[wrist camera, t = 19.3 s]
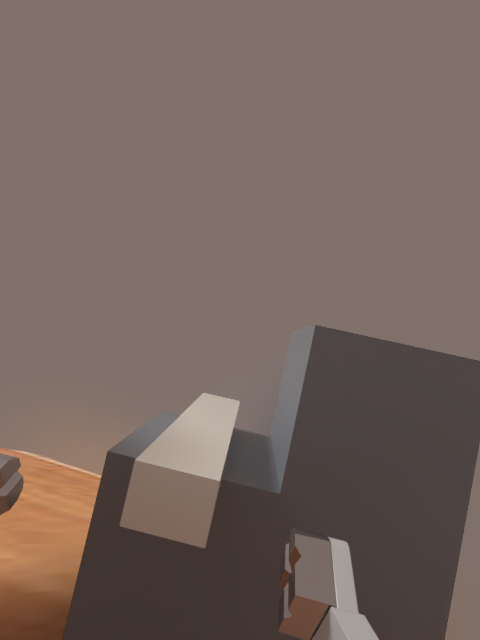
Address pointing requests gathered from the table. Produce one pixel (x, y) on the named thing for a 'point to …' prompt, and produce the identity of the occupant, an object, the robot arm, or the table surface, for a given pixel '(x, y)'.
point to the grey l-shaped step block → (304, 502)
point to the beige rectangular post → (182, 474)
